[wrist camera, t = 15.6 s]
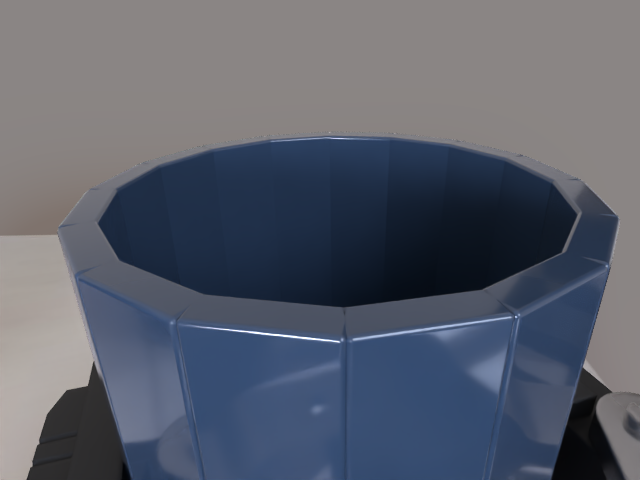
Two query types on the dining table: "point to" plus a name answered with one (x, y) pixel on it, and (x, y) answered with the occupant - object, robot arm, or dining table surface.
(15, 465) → the dining table surface
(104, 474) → the robot arm
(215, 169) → the pen holder
